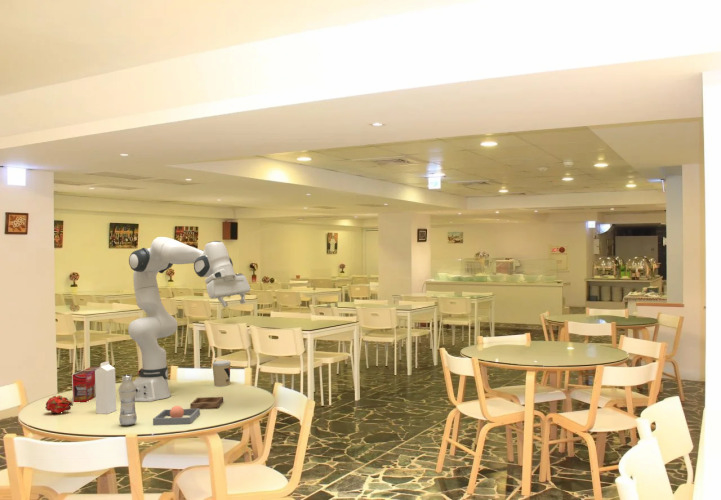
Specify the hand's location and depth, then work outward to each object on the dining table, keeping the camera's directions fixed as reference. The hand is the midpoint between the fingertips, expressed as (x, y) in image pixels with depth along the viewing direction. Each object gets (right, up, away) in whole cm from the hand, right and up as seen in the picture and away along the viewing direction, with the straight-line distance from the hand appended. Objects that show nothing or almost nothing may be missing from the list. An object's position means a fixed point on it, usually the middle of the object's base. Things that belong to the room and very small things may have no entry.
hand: (234, 304), depth 272 cm
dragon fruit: (-79, -49, +7) cm, 93 cm away
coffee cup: (-18, -47, +57) cm, 76 cm away
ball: (-22, -44, -11) cm, 50 cm away
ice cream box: (-79, -49, +37) cm, 100 cm away
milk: (-58, -48, +6) cm, 75 cm away
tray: (-15, -46, +12) cm, 50 cm away
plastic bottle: (-40, -47, -17) cm, 64 cm away
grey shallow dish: (-22, -46, -11) cm, 52 cm away
